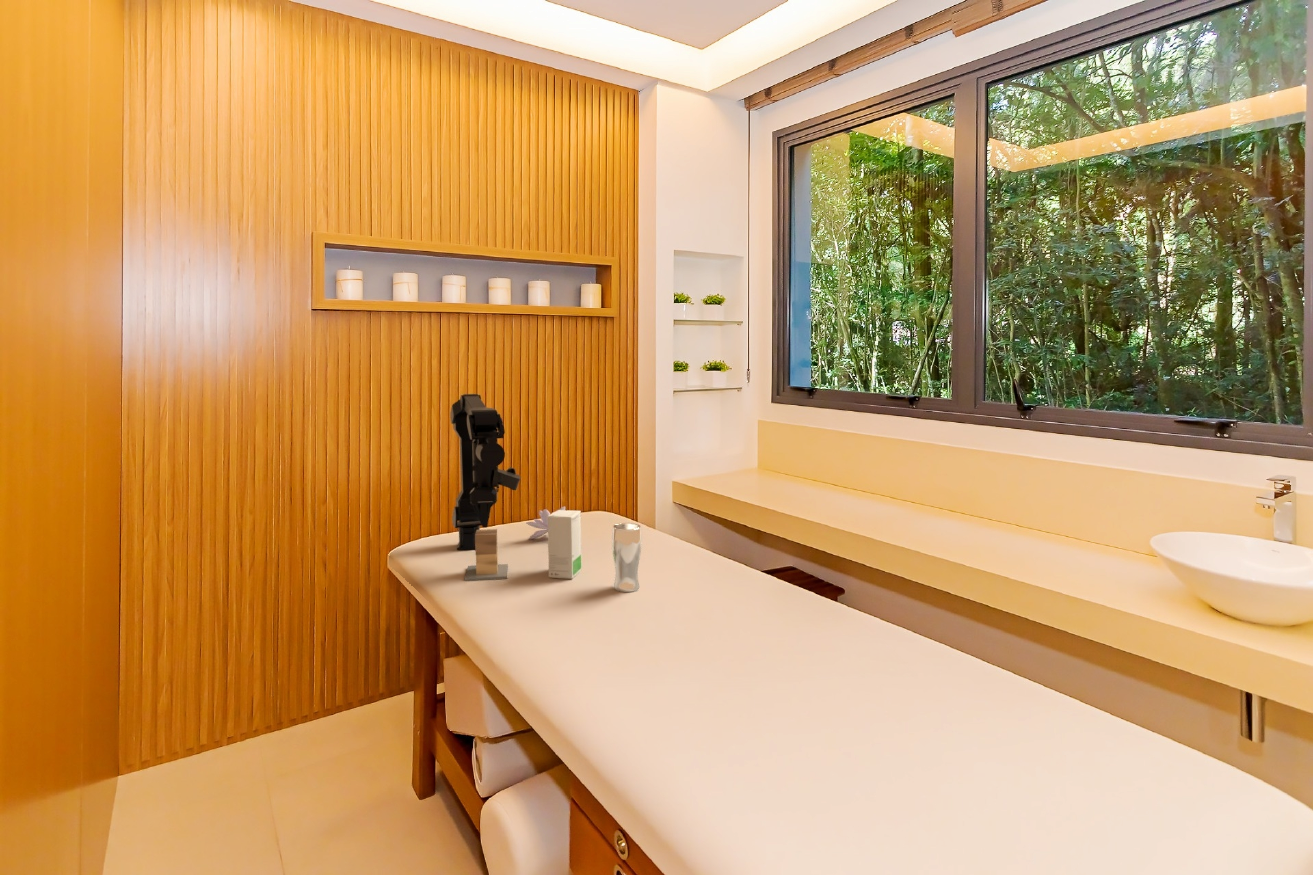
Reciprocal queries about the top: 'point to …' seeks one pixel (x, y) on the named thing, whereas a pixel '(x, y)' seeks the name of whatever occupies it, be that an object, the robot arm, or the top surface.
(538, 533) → the water lily
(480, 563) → the oak cube
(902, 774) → the top surface
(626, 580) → the beer glass
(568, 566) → the skincare box
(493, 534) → the walnut cube
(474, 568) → the slate coaster
